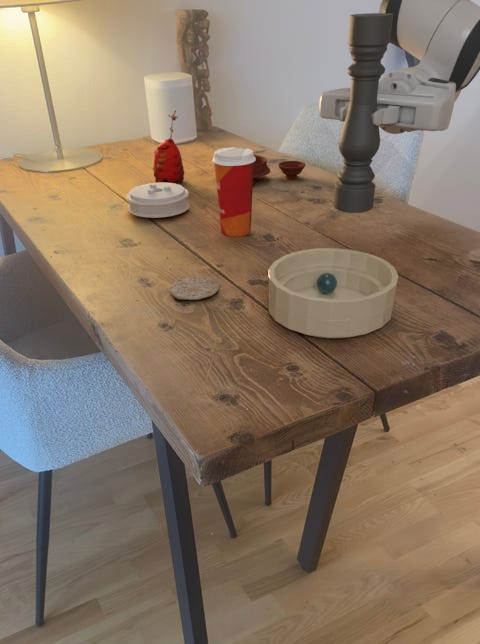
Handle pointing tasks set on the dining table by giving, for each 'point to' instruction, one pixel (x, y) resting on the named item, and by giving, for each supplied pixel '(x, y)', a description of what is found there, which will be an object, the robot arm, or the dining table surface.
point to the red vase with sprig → (168, 161)
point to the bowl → (338, 306)
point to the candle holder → (362, 111)
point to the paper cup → (234, 189)
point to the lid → (158, 200)
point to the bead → (326, 283)
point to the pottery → (287, 167)
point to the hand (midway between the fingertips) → (357, 117)
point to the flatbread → (194, 288)
